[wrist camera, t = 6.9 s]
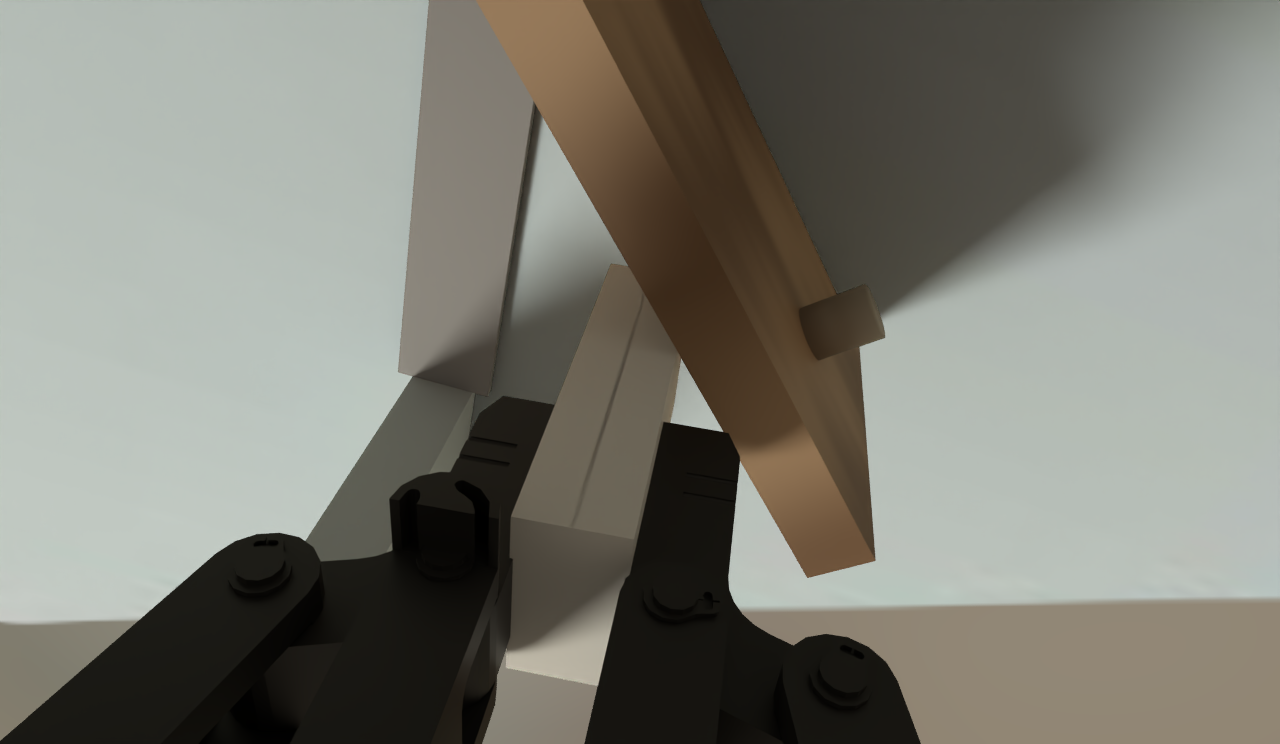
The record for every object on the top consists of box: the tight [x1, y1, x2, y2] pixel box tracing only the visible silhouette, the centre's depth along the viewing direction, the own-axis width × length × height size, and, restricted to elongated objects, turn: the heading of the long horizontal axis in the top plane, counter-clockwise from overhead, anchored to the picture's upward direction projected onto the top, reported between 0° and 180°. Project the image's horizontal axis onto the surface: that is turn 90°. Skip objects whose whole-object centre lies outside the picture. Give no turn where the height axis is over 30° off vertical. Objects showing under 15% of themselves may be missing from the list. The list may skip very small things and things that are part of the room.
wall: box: [305, 0, 536, 561], centre depth 16 cm, size 26×2×8 cm, turn 167°
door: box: [476, 0, 885, 578], centre depth 15 cm, size 14×2×8 cm, turn 28°
